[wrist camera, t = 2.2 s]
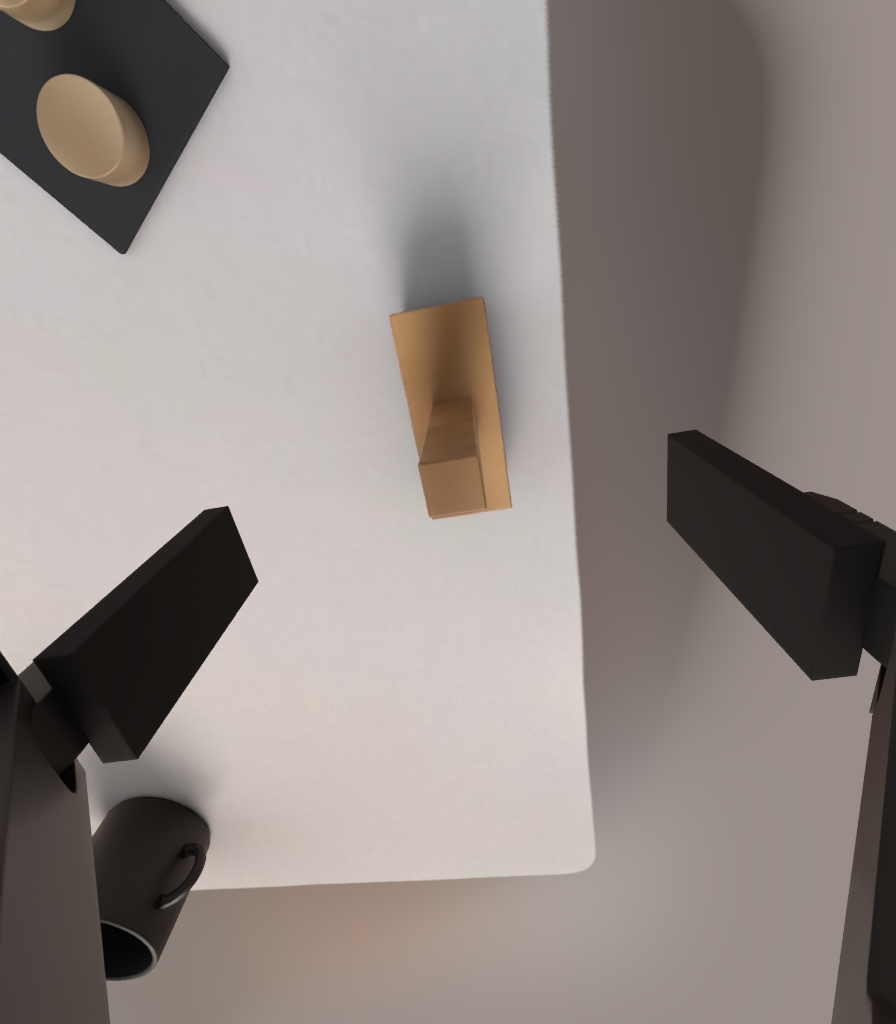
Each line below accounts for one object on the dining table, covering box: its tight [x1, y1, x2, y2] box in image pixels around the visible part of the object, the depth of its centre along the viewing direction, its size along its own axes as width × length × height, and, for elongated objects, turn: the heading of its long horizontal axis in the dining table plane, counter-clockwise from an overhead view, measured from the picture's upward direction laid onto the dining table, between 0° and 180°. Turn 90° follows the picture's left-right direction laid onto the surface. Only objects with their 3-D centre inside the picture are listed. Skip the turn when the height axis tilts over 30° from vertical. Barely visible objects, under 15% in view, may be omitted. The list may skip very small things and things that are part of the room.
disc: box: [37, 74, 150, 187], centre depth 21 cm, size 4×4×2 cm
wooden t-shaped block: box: [389, 297, 512, 520], centre depth 22 cm, size 4×11×13 cm, turn 10°
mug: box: [92, 798, 210, 981], centre depth 40 cm, size 9×12×9 cm
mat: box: [0, 0, 229, 254], centre depth 22 cm, size 10×10×1 cm
